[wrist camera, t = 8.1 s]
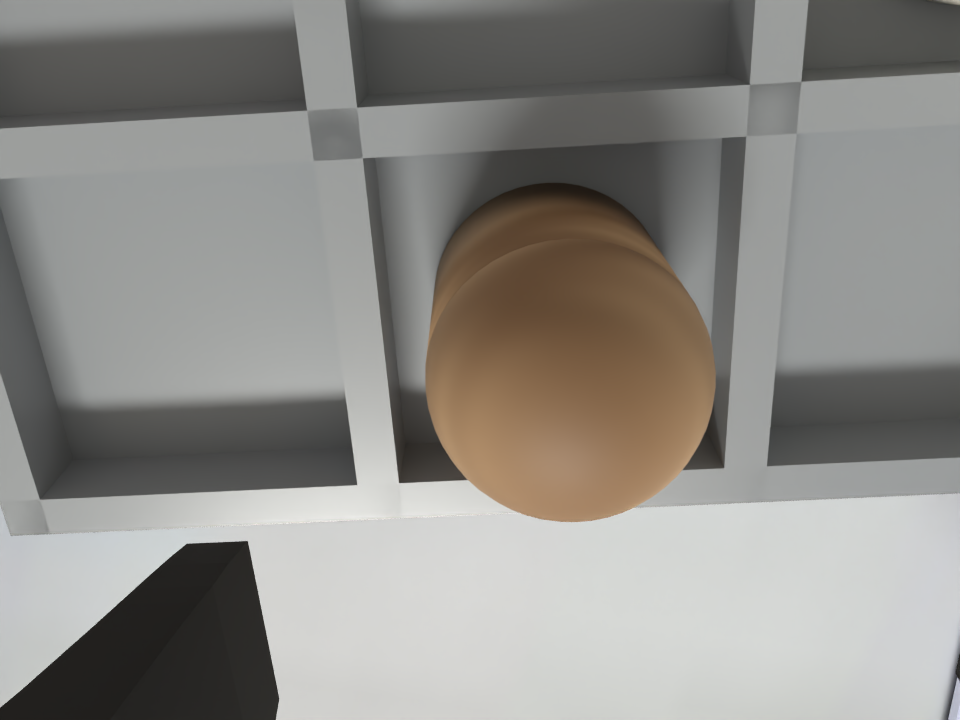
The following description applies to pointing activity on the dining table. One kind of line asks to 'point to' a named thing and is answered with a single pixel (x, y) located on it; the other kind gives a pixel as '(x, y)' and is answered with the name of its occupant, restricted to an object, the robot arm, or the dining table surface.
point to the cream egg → (947, 1)
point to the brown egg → (565, 356)
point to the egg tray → (431, 224)
